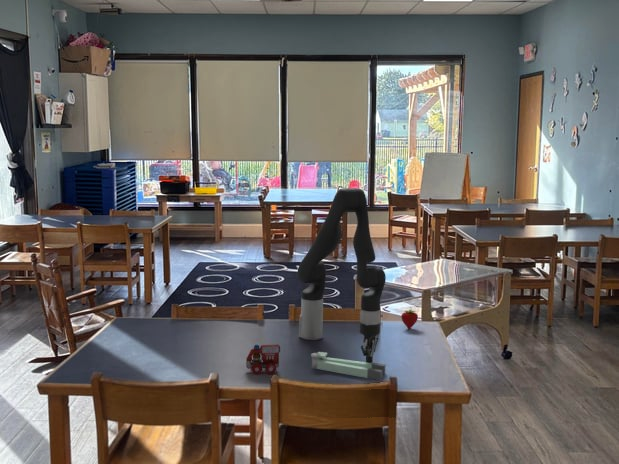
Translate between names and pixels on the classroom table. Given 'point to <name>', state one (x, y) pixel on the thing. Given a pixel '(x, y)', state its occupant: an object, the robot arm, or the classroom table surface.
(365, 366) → the tongs arm
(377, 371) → the bar
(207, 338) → the classroom table surface
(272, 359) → the toy fire truck
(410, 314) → the strawberry
